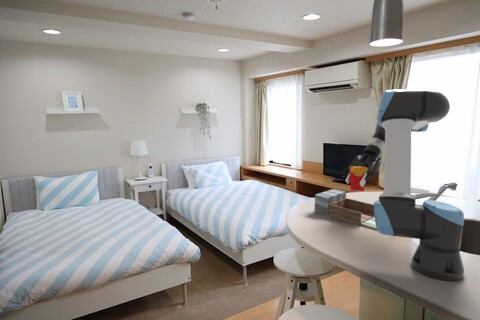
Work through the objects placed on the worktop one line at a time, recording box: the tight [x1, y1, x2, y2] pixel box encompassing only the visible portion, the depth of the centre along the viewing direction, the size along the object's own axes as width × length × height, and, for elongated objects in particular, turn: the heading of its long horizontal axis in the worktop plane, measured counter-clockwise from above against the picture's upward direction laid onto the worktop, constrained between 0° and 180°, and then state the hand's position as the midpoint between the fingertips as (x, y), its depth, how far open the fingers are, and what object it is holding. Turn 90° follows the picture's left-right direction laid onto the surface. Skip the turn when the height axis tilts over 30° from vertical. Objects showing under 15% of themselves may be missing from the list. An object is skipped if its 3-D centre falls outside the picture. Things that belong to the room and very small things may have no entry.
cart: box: [314, 188, 378, 231], centre depth 156 cm, size 18×34×10 cm, turn 41°
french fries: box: [349, 165, 368, 192], centre depth 152 cm, size 8×4×12 cm, turn 71°
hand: (353, 183), depth 150 cm, fingers closed on french fries, 7 cm apart
